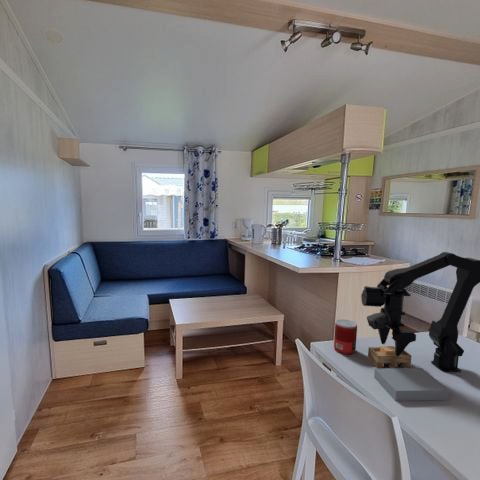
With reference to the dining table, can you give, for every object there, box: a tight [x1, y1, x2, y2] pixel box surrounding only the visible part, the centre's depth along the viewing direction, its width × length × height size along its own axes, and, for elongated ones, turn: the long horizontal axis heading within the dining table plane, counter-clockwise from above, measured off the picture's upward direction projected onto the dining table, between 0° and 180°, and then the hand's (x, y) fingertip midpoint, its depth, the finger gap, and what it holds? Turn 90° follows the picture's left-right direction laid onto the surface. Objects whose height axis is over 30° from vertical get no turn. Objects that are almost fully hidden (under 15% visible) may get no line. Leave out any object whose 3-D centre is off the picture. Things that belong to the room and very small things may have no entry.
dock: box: [373, 367, 451, 402], centre depth 92 cm, size 16×12×3 cm
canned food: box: [333, 318, 358, 355], centre depth 116 cm, size 8×8×11 cm
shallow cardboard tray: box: [367, 346, 412, 369], centre depth 107 cm, size 12×7×4 cm, turn 93°
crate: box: [379, 345, 396, 355], centre depth 107 cm, size 5×4×2 cm
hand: (389, 349), depth 106 cm, fingers open, 9 cm apart
